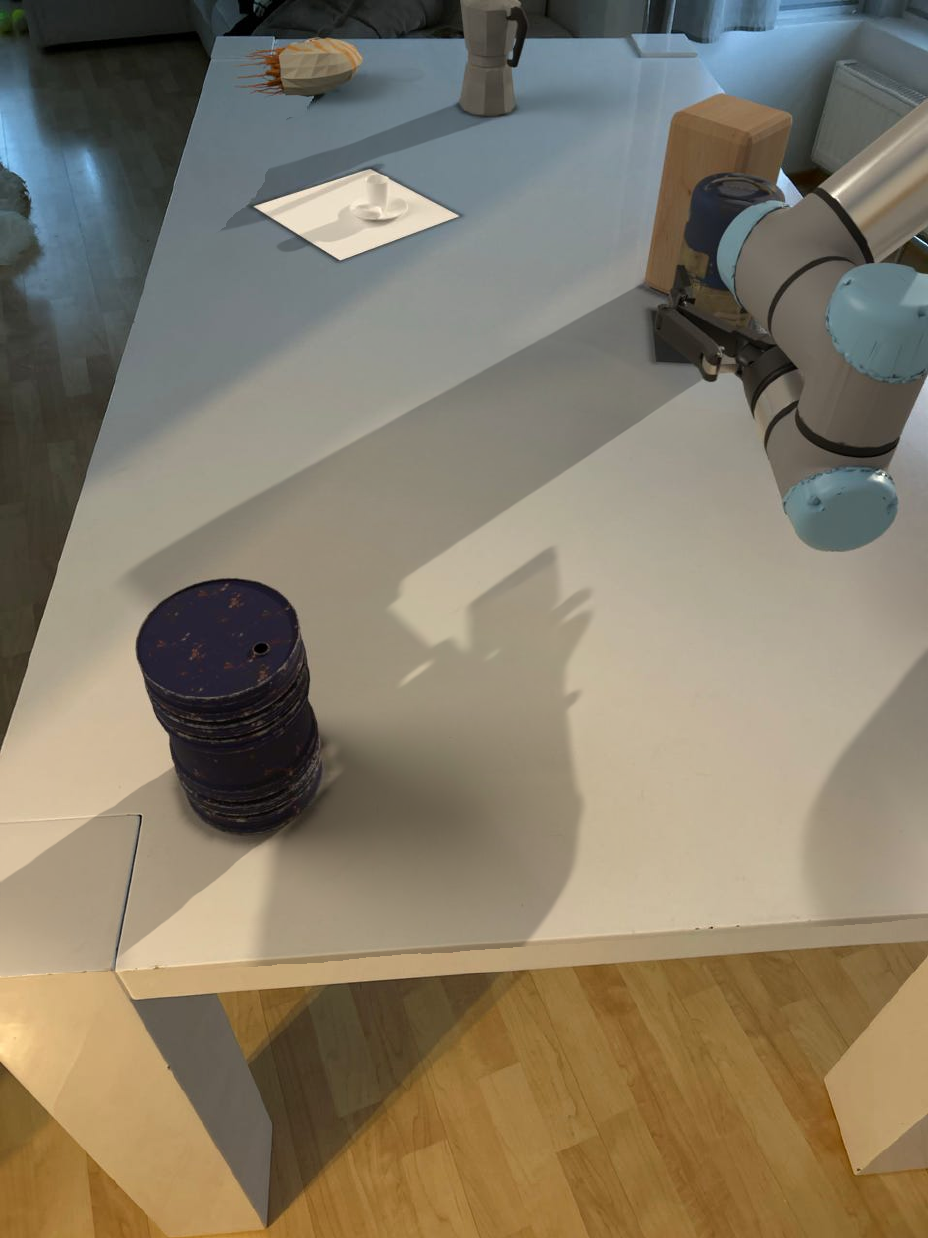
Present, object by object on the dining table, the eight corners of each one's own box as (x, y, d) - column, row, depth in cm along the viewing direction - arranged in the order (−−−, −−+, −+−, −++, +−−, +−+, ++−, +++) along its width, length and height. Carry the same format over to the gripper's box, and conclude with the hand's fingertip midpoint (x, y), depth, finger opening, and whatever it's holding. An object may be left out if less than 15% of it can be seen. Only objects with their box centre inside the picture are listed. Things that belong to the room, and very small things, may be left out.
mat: (765, 369, 104) (765, 367, 104) (655, 363, 105) (656, 360, 105) (752, 318, 112) (753, 315, 112) (650, 312, 112) (651, 310, 112)
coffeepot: (440, 100, 158) (440, -28, 145) (485, 88, 162) (489, -37, 149) (498, 129, 150) (503, -3, 136) (543, 116, 154) (553, -13, 140)
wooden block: (640, 286, 116) (668, 111, 102) (686, 258, 121) (719, 88, 107) (709, 315, 112) (749, 136, 97) (754, 285, 117) (798, 111, 102)
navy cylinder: (155, 808, 65) (98, 669, 54) (229, 703, 72) (190, 560, 61) (283, 855, 63) (250, 721, 52) (348, 743, 69) (330, 601, 58)
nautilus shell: (234, 111, 154) (242, 84, 165) (366, 100, 155) (365, 74, 165) (223, 56, 149) (232, 32, 159) (359, 45, 149) (359, 22, 160)
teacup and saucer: (368, 230, 125) (366, 199, 122) (333, 209, 129) (330, 179, 126) (419, 211, 129) (419, 181, 126) (383, 192, 133) (382, 162, 130)
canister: (687, 307, 113) (720, 149, 100) (762, 333, 109) (806, 173, 96) (649, 341, 107) (678, 179, 94) (726, 369, 104) (767, 205, 91)
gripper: (643, 437, 82) (616, 311, 97) (928, 440, 82) (859, 314, 97) (657, 361, 77) (626, 240, 91) (963, 365, 77) (884, 243, 91)
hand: (746, 278), depth 94 cm, fingers open, 13 cm apart
